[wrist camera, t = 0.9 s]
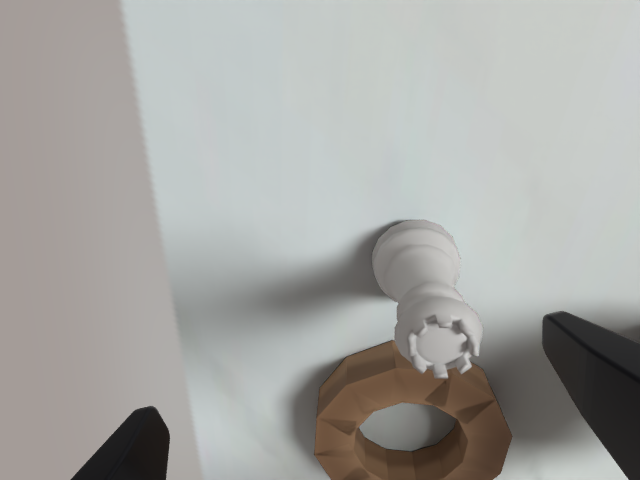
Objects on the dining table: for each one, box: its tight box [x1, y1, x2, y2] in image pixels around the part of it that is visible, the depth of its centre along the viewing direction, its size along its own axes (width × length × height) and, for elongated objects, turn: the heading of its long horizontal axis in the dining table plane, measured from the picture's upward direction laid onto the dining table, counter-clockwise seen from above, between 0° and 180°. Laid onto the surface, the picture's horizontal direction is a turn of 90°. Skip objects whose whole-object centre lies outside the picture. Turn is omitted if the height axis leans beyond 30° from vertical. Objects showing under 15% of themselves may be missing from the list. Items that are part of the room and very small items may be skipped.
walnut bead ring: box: [314, 340, 512, 480], centre depth 25 cm, size 11×11×2 cm
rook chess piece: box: [372, 220, 483, 379], centre depth 18 cm, size 4×4×8 cm
